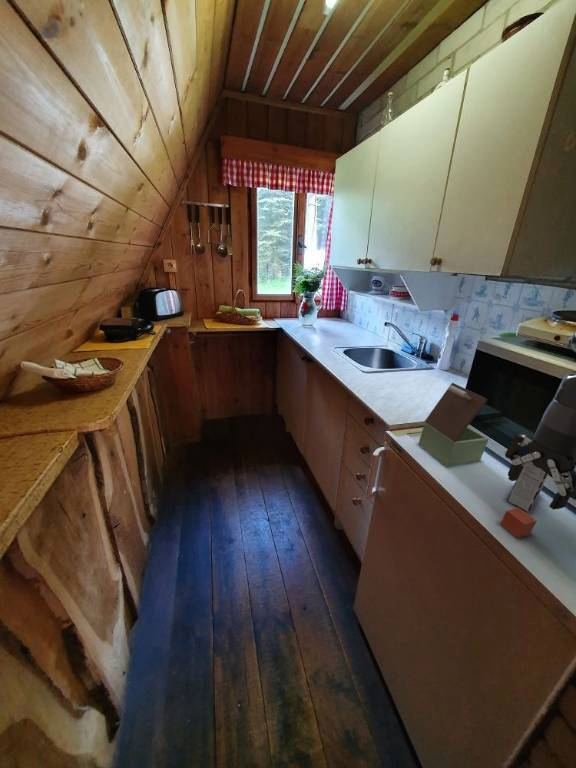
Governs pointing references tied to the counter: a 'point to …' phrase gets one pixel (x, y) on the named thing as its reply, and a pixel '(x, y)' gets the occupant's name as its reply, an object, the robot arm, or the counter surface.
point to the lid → (455, 411)
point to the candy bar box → (527, 486)
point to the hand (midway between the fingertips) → (531, 492)
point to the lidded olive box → (453, 446)
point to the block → (518, 522)
